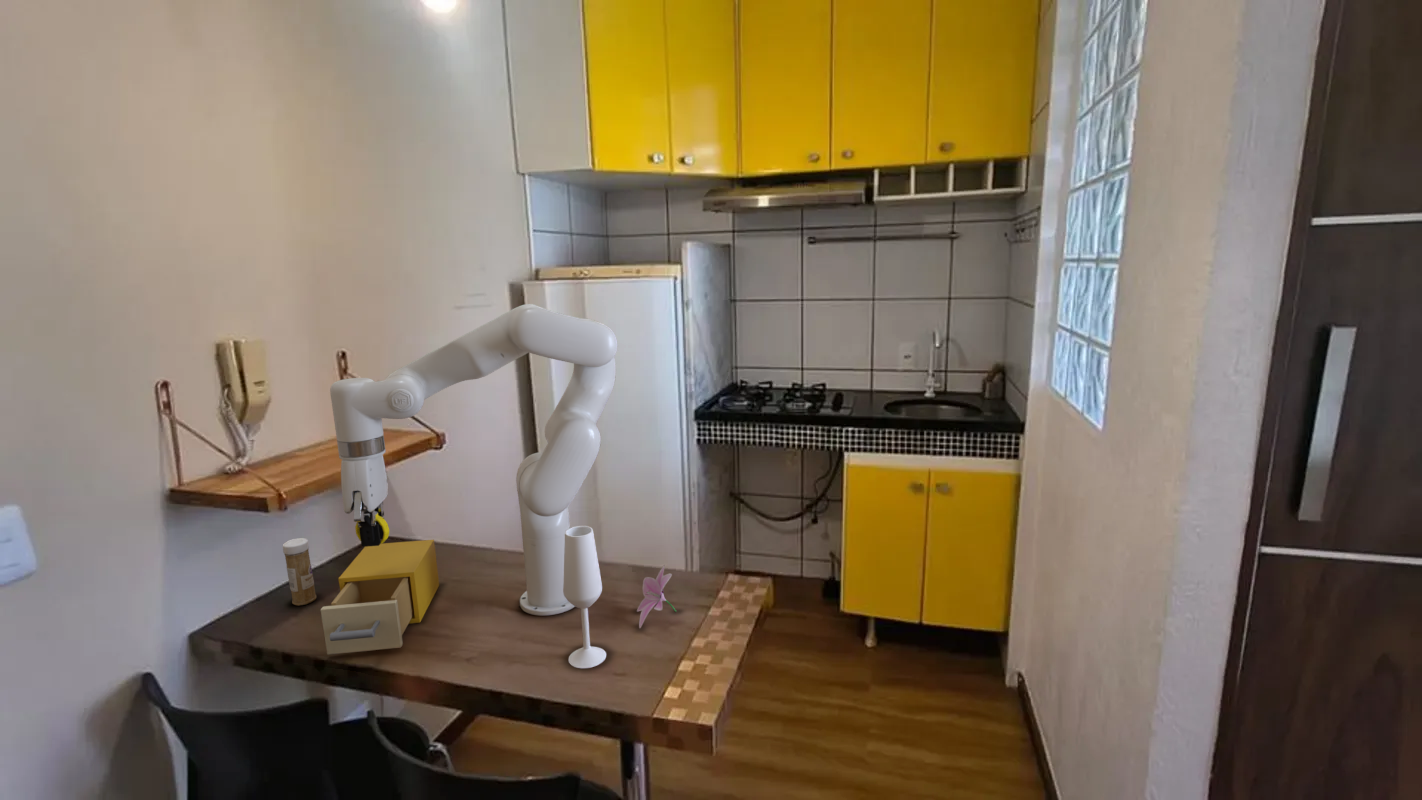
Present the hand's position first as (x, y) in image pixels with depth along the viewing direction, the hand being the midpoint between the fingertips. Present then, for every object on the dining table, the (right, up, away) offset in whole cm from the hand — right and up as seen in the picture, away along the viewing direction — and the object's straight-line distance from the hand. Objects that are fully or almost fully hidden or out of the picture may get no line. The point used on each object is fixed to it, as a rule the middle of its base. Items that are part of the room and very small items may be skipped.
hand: (374, 541), depth 125 cm
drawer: (-1, -18, +1) cm, 18 cm away
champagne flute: (+41, -20, -5) cm, 46 cm away
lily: (+52, -17, +8) cm, 55 cm away
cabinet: (-3, -16, +14) cm, 22 cm away
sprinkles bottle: (-23, -17, +17) cm, 34 cm away
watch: (0, -1, 0) cm, 1 cm away
